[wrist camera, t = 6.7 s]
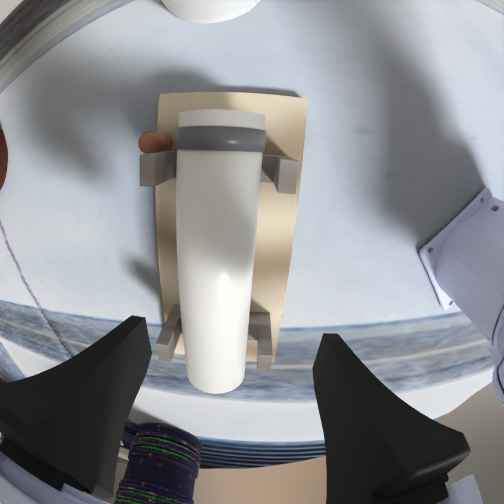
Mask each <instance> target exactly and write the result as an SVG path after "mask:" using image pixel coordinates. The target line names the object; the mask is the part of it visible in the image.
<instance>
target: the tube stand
mask: <svg viewBox="0 0 504 504" xmlns="http://www.w3.org/2000/svg"><path fill="white" fill-rule="evenodd" d="M307 102H308V99H305V98H298V97H290V96H281V95H271V94H259V93H242V92H180V93H164V94H159V105H158V119H157V132H146V133H144V134H143V135H142V136H141V137H140V139H139V148H140V150H141V151H142V152H143V153H146V154H142V155H140V186H156V226H157V246H158V260H159V273H160V284H161V294H162V303H163V311H164V319H165V324H164V326H163V329H162V331H161V333H160V335H159V338H158V340H157V342H156V347H157V352H158V357H159V360H163V361H169V362H171V359H172V357H173V354H174V353H176V354H183V355H185V351H184V342H183V332H182V322H181V310H180V297H179V281H178V262H177V233H176V172H177V149H176V129H177V127H178V125H179V113H180V112H183V111H188V110H200V109H224V110H238V111H247V112H253V113H258V114H262V115H264V116H265V117H266V118H265V131H266V140H265V152H263V156H262V168H261V180H260V193H259V205H258V217H257V229H256V241H255V253H254V265H253V277H252V289H251V301H250V313H249V325H248V337H247V348H246V360H245V361H254V362H257V371H270V368H271V362H274V358H275V353H276V347H277V342H278V336H279V330H280V324H281V318H282V312H283V306H284V299H285V293H286V286H287V280H288V273H289V266H290V259H291V252H292V245H293V237H294V229H295V221H296V213H297V205H298V197H299V188H300V179H301V169H302V159H303V149H304V138H305V127H306V115H307Z"/></svg>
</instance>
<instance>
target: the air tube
mask: <svg viewBox="0 0 504 504" xmlns="http://www.w3.org/2000/svg"><path fill="white" fill-rule="evenodd" d="M265 118H266V117H265V116H264V115H262V114H258V113H253V112H247V111H238V110H224V109H200V110H188V111H183V112H180V113H179V125H178V127H177V129H176V149H177V172H176V233H177V262H178V281H179V297H180V310H181V322H182V332H183V342H184V351H185V360H186V368H187V375H188V379H189V380H190V382H191V383H192V384H193V385H194V386H195V387H196V388H197V389H199V390H201V391H204V392H207V393H213V394H220V393H226V392H229V391H231V390H233V389H235V388H236V387H238V386H239V385H240V384H241V382H242V381H243V378H244V372H245V360H246V348H247V337H248V325H249V313H250V301H251V289H252V277H253V265H254V253H255V241H256V229H257V217H258V205H259V193H260V180H261V168H262V156H263V152H265V140H266V131H265Z"/></svg>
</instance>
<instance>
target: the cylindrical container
mask: <svg viewBox="0 0 504 504" xmlns="http://www.w3.org/2000/svg"><path fill="white" fill-rule="evenodd" d="M161 1H162V2H163V3H164V5H165V6H166V7H167V8H168V10H169V11H170V12H171V13H172V14H173V15H174V16H176V17H178V18H180V19H182V20H185V21H188V22H194V23H216V22H222V21H226V20H230V19H233V18H235V17H238V16H240V15H242V14H244V13H246V12H248V11H249V10H250V9H252V8H253V7H254V6H255V5H256V4H257V3H258V2H259V1H260V0H161Z"/></svg>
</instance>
